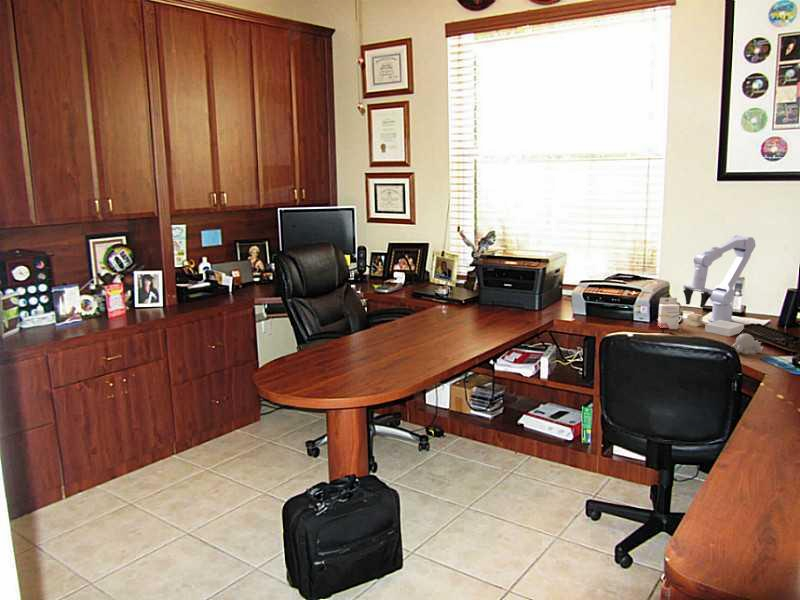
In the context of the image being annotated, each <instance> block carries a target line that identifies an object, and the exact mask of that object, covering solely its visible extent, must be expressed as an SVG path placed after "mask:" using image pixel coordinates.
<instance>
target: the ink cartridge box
mask: <svg viewBox="0 0 800 600" xmlns="http://www.w3.org/2000/svg"><path fill="white" fill-rule="evenodd" d="M677 300H678V298H677V297H660V298H659V303H658V314H657V315H658V317H657V318H658V319H657V327H658V326H659V327H660V328H669V329H668V330H678V329H679V322H680V321H679V318H680V305H679V304H678V303H677ZM659 327H658V328H659ZM660 328H659V329H660Z"/></svg>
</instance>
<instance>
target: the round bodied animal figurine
mask: <svg viewBox="0 0 800 600" xmlns="http://www.w3.org/2000/svg"><path fill="white" fill-rule="evenodd" d="M762 343H763V342H762V341H759V339H756V340H755V338H754V337H753V335H751V334H749V333H744V332H743V333H739V335H737V337H736V339H735V343H733V344H732V345H731V347H732V346H733V347H734V348H735V349H736V350H737V351H736V350H735V351H736V352H737V353H738V352H739V353H741V354H743V355H745V356H747V355H749V353H750V350H752V351H754V352H755V353H756V354H760V353H761V352H762V350H763V349H764V346H761V344H762Z"/></svg>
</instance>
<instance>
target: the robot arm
mask: <svg viewBox="0 0 800 600" xmlns="http://www.w3.org/2000/svg"><path fill="white" fill-rule="evenodd" d="M756 246H757V245H756V240H755V239H754V237H752V236H751V237H750V236H742V235H737V234H736V235H734V236H732V237H730V239H729V240H728V241H726V242H725V243H722V245H720V246H712V247H711V248H710V249H708V250H707V251H705V250H704V252H703V253H698V254H696V255H695V257H694V258H693V263H694V272H693V273H694V274H693V278H692V284H691V285H688V284H683V287H682V289H683V291H682V292H683V293H684V298H685V305H691V299H692V296H693V293H694V292H699V293H700V296H701V297H700V305H699V306H700V308H701V309H702V308H705V305H706V304H707V303H708V302H707V301H708V300H709V299H710V301H711V303H712V309H711V310H712V312H711V313H712V314H711V318H710V319H707V321H708V322H714V321H718V320H723V321H729V322H734V319H733V306H732V304H731V303H733V300H734V296H735V293H736V292H735V290H734V287H735V285H736V283H737V281H738V280H739V278H740V276H741V274H742V272H743V271H744V269H745V268H746V266H747V264H748V263H749V260H750V259H751V255H752V253H753V251H754V250H755V248H756ZM731 250H733V252H734V253H735V254H736V258H735V259H734V261H733V263H732V264H731V265H730V266H731V267H730V268H729V270H728V272H727V273H726V275H725V276H724V279H723V280H722V282H721V283H719V284H717V285H715V287H714V288H713V289H710V288H706V282H707V277H708V271H709V267H710V266H712V264H713V262H715V261H716V260H718V259H720V258H721V257H723V254H724V253H727V252H728V251H731Z"/></svg>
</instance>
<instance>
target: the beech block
mask: <svg viewBox="0 0 800 600" xmlns="http://www.w3.org/2000/svg"><path fill="white" fill-rule="evenodd" d="M686 316H687V318H686V326H691V327H695V328H697V327H700V326H702V325H703V315H702V314H698V313H690V314H687V315H686Z"/></svg>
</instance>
